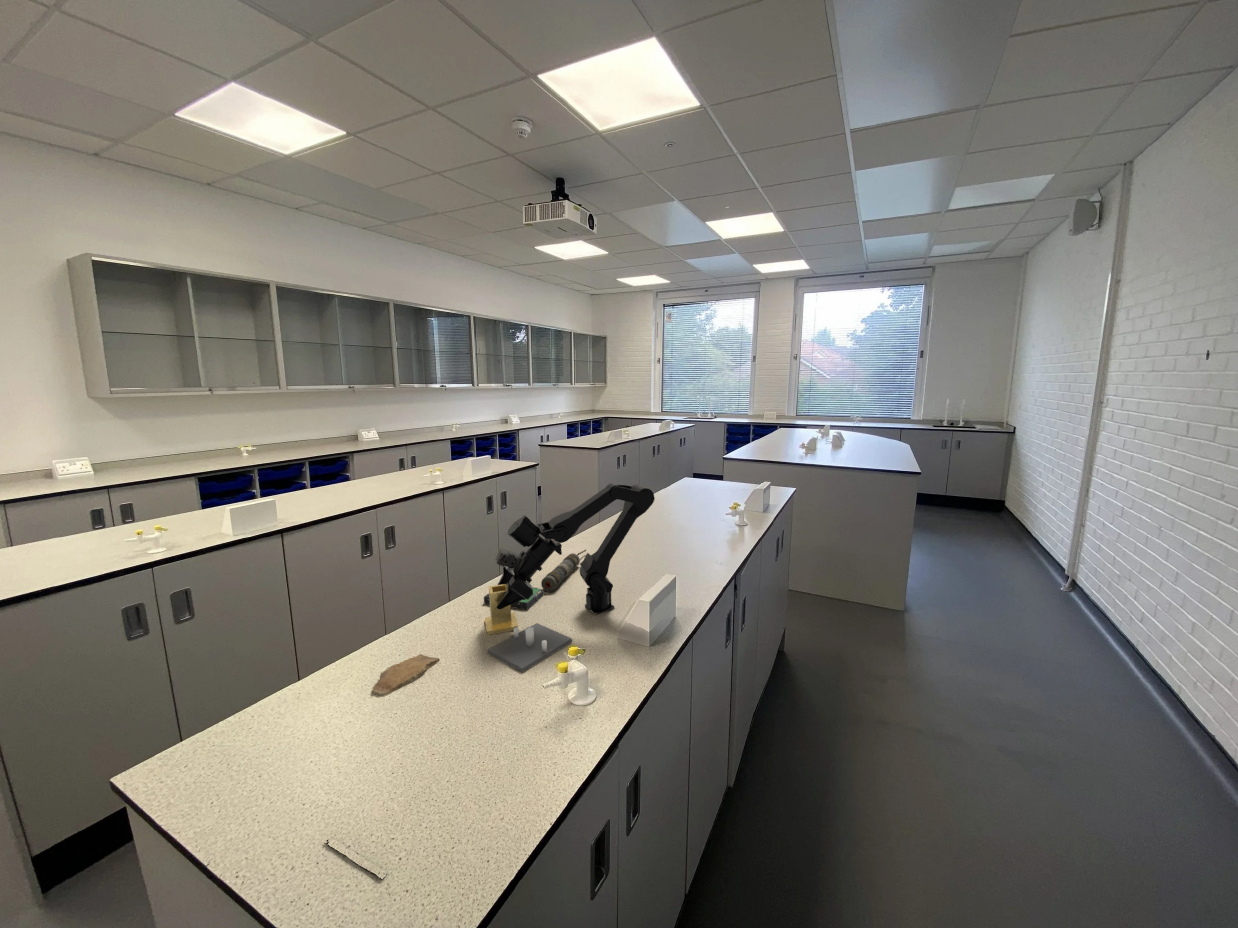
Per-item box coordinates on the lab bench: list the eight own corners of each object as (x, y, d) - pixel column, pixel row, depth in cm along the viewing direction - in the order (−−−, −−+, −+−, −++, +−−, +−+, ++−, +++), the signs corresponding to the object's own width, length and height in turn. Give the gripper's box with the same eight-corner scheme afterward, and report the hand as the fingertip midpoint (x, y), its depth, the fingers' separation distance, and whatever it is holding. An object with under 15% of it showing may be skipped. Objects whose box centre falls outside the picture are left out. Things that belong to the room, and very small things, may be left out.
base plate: (537, 626, 128) (536, 609, 128) (571, 641, 120) (571, 623, 120) (487, 652, 116) (486, 633, 115) (522, 672, 108) (521, 651, 107)
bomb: (591, 555, 181) (590, 542, 180) (555, 593, 149) (554, 578, 148) (578, 554, 182) (578, 542, 181) (541, 591, 150) (540, 576, 150)
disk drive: (483, 605, 142) (528, 611, 138) (482, 597, 142) (527, 602, 138) (501, 591, 152) (544, 596, 148) (501, 583, 152) (543, 587, 147)
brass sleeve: (514, 615, 135) (512, 580, 133) (518, 629, 127) (515, 592, 125) (485, 620, 132) (482, 585, 130) (487, 634, 125) (484, 597, 123)
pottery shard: (445, 665, 112) (445, 658, 112) (380, 701, 100) (379, 693, 99) (426, 654, 117) (425, 648, 116) (361, 688, 104) (360, 681, 104)
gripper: (509, 529, 136) (471, 571, 134) (517, 550, 118) (474, 598, 117) (538, 551, 140) (501, 593, 138) (550, 575, 122) (508, 623, 120)
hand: (496, 600), depth 128 cm, fingers open, 9 cm apart
